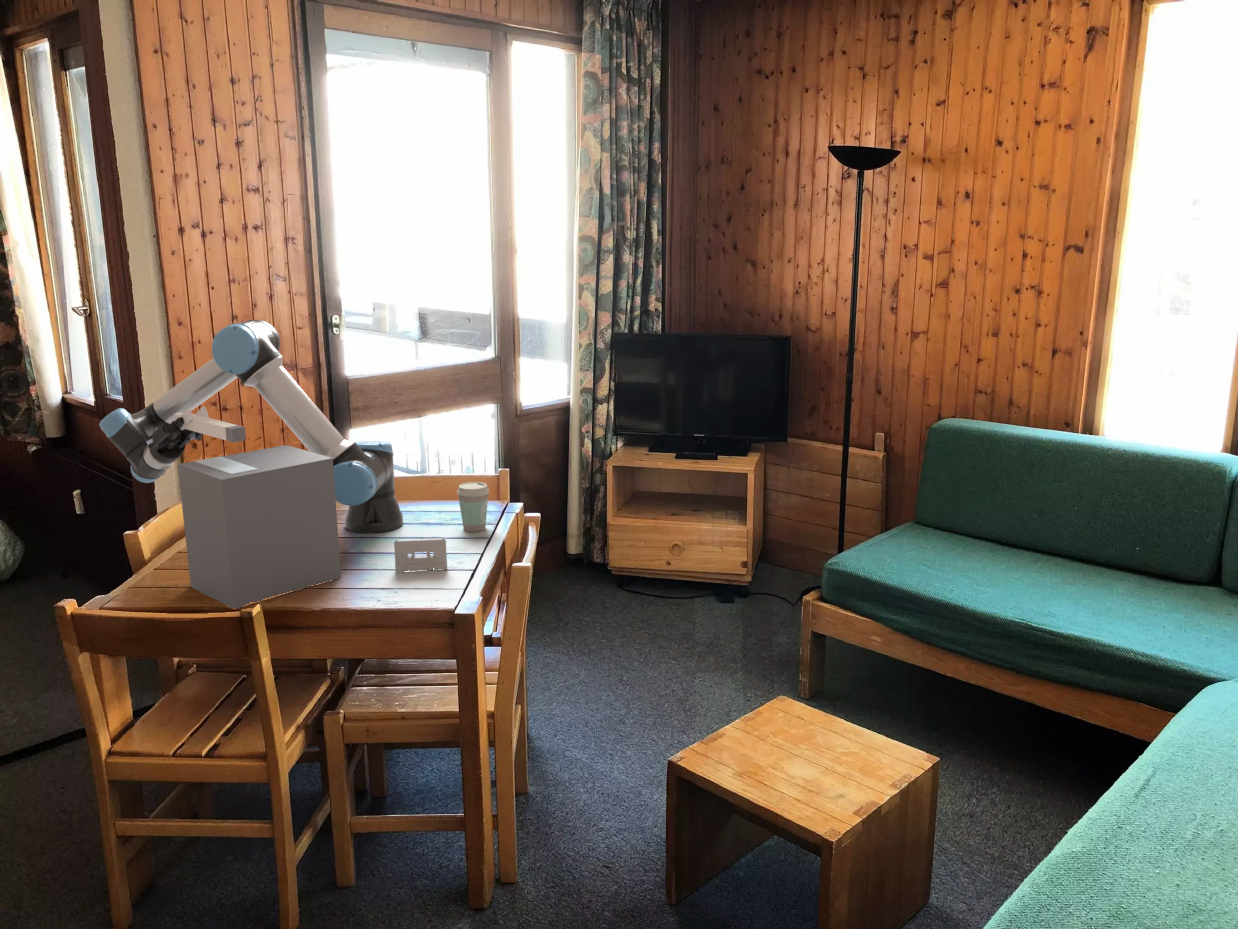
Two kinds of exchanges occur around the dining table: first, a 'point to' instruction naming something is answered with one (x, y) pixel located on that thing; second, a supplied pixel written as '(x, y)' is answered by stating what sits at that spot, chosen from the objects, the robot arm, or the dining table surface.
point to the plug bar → (215, 428)
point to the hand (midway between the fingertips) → (197, 413)
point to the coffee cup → (473, 505)
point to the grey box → (259, 523)
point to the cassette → (420, 562)
